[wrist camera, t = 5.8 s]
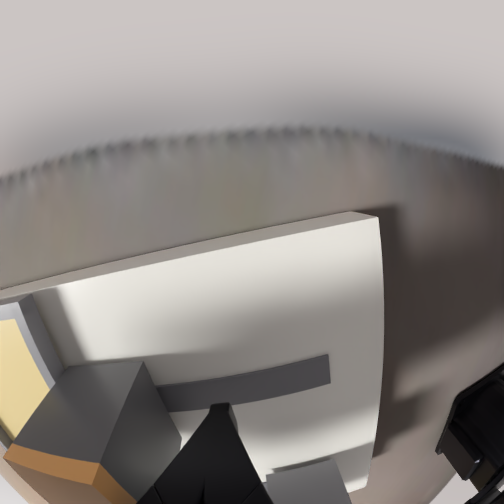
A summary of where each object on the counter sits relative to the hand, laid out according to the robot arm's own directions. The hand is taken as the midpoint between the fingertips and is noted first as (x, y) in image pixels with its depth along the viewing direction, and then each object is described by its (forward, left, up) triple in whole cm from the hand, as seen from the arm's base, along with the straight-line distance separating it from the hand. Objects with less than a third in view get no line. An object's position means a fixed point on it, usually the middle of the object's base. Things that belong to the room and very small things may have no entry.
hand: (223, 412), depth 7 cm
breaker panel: (+5, +3, -3) cm, 6 cm away
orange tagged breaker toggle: (+4, 0, -1) cm, 4 cm away
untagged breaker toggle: (-2, +7, -1) cm, 7 cm away
